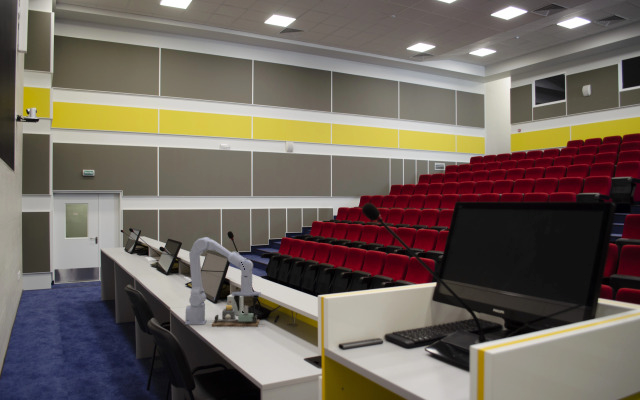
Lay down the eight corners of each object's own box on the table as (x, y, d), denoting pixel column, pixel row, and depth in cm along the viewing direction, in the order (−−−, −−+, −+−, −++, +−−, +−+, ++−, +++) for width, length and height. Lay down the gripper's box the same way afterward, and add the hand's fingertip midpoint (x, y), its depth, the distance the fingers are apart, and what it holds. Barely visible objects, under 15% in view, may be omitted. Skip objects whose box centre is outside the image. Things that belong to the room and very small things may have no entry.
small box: (243, 313, 256) (243, 294, 256) (240, 315, 251) (241, 296, 251) (229, 312, 257) (230, 294, 257) (226, 315, 252) (227, 296, 252)
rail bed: (211, 326, 229) (211, 318, 229) (215, 321, 239) (215, 313, 239) (257, 326, 230) (257, 318, 230) (259, 321, 240) (259, 313, 240)
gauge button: (225, 310, 241) (225, 306, 241) (226, 308, 244) (226, 304, 244) (231, 310, 241) (231, 306, 241) (232, 308, 245) (232, 305, 245)
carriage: (238, 321, 231) (238, 307, 231) (239, 317, 238) (240, 304, 238) (252, 321, 231) (252, 307, 231) (253, 317, 238) (253, 304, 238)
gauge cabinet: (222, 321, 239) (222, 311, 239) (223, 317, 246) (224, 308, 246) (233, 321, 240) (233, 311, 240) (235, 317, 246) (235, 308, 246)
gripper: (231, 285, 230) (230, 312, 230) (260, 285, 231) (259, 312, 231) (233, 282, 237) (232, 308, 237) (261, 282, 238) (260, 308, 238)
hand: (246, 310), depth 235 cm, fingers open, 7 cm apart
